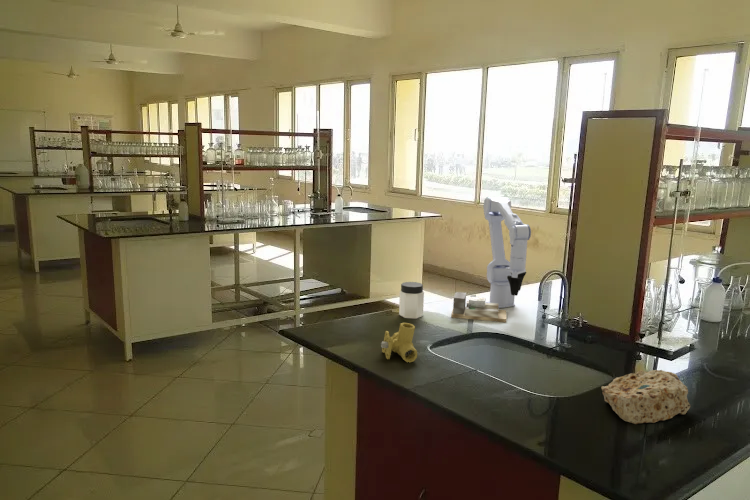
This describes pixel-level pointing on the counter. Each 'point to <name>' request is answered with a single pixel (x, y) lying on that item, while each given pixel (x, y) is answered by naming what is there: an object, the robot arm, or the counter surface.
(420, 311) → the jar
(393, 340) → the ball valve
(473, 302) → the grey box
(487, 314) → the stand
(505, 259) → the robot arm
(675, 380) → the rock
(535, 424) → the counter surface
